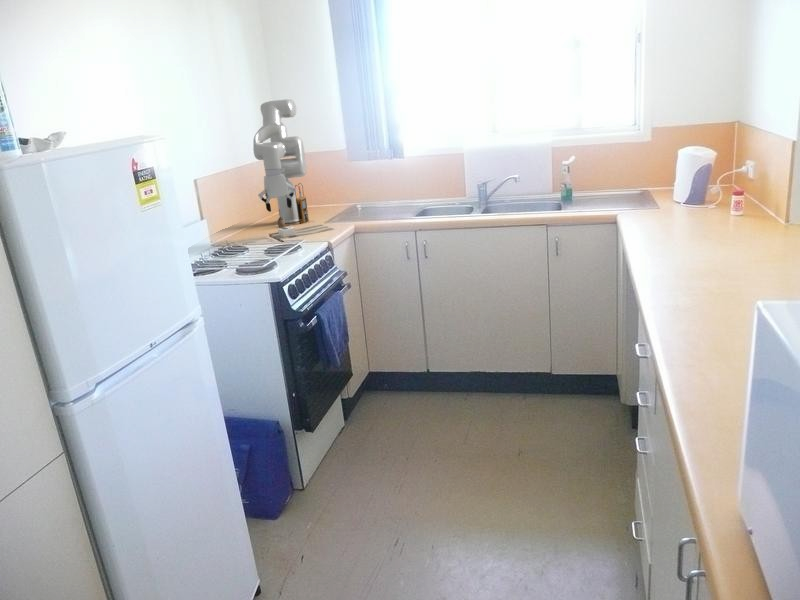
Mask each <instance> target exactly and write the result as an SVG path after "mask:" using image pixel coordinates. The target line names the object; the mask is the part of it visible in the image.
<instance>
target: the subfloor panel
mask: <svg viewBox="0 0 800 600" xmlns="http://www.w3.org/2000/svg"><path fill="white" fill-rule="evenodd" d="M295 230H296V235H291V236H286V237H282V236H279V233H278V232H272V233H269V234H268V237H269V238H272V239H274V240H276V241H278V242H281V243H285V242H284V240H286V239H293V238H297V237H302V236H309V235H313V234H319V233H324V232H328V231H335V230H336V228H334V227H330V226H326V225H324V224H317V225H311V226H306V227H300V228H295Z"/></svg>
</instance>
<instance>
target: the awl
mask: <svg viewBox="0 0 800 600" xmlns="http://www.w3.org/2000/svg"><path fill="white" fill-rule="evenodd" d="M278 216H279V217H278V219H277V221H278V222H277V225H278V229H280V228H285V227H286V224H285V222H284V219H283V218H282V217H281V212H280V209H279V208H278Z"/></svg>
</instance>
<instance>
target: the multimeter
mask: <svg viewBox="0 0 800 600" xmlns="http://www.w3.org/2000/svg"><path fill="white" fill-rule="evenodd" d="M300 185H301V186H302V188H301V186H300ZM296 187H298V192H299V193H298V194H299V197H298V198H297V197H296V205H297V212H298V219H299V222H298V224H299V225H304V224H308V223H310V221H309V220H310V217H309V213H308V212H309V211H308V204H307V197H306V196H305V195H304V192H301V189H302V190H304V187H303V184H302V183H300V182H299V183H298V184H296V185H294V188H296ZM296 191H297V190H295V195H296V196H297V194H296V193H297V192H296ZM302 195H303V196H302ZM307 222H308V223H307Z"/></svg>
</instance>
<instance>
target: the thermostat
mask: <svg viewBox="0 0 800 600" xmlns="http://www.w3.org/2000/svg"><path fill="white" fill-rule="evenodd" d="M295 229H296V227H293V226H285V228H280V229H279V228H277V231H278V232H277V233H279V236H282V237H286V236H291V235H296V230H295Z"/></svg>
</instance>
